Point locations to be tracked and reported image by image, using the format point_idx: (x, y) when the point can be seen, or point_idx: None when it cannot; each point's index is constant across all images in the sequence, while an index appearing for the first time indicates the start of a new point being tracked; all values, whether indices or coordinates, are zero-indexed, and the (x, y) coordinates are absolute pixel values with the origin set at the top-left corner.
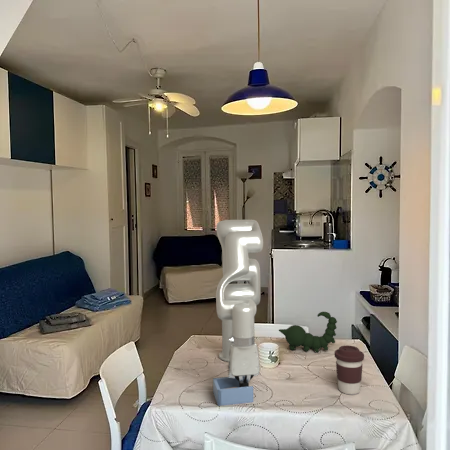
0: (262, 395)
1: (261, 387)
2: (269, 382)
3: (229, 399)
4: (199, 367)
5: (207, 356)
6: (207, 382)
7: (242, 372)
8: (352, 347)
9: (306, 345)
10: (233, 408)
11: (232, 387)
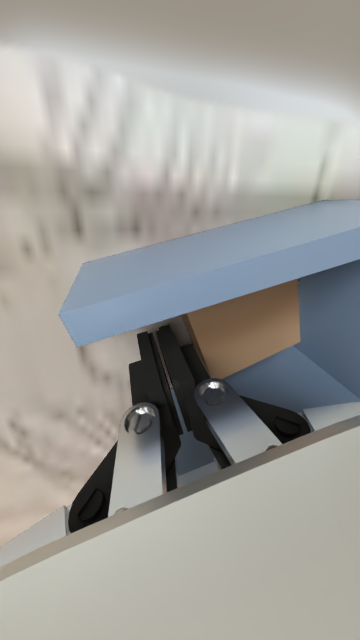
0: (30, 362)
1: (60, 439)
2: (23, 488)
3: (276, 221)
4: None
5: None
6: None
7: (311, 535)
8: None
9: None
10: (235, 151)
11: (243, 367)
